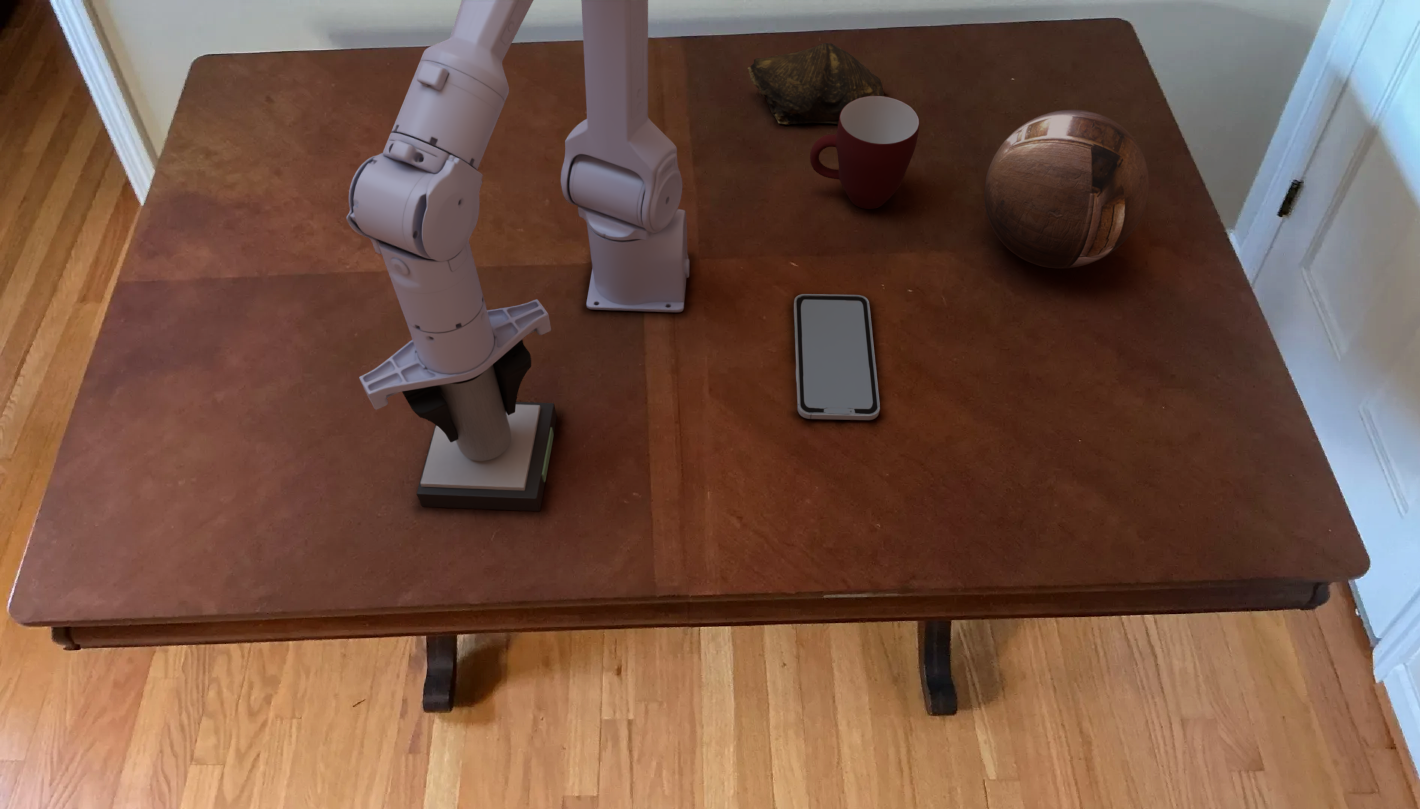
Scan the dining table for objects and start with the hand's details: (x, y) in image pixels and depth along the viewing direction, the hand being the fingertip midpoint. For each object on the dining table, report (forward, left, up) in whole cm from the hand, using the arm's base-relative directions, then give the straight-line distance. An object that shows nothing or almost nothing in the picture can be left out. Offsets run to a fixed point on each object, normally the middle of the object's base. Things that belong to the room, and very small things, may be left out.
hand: (479, 418), depth 82 cm
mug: (-33, -36, -6) cm, 49 cm away
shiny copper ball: (-52, -29, -6) cm, 60 cm away
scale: (0, 0, -6) cm, 6 cm away
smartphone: (-30, -13, -6) cm, 33 cm away
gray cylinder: (0, 0, -3) cm, 3 cm away
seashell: (-29, -52, -6) cm, 60 cm away
